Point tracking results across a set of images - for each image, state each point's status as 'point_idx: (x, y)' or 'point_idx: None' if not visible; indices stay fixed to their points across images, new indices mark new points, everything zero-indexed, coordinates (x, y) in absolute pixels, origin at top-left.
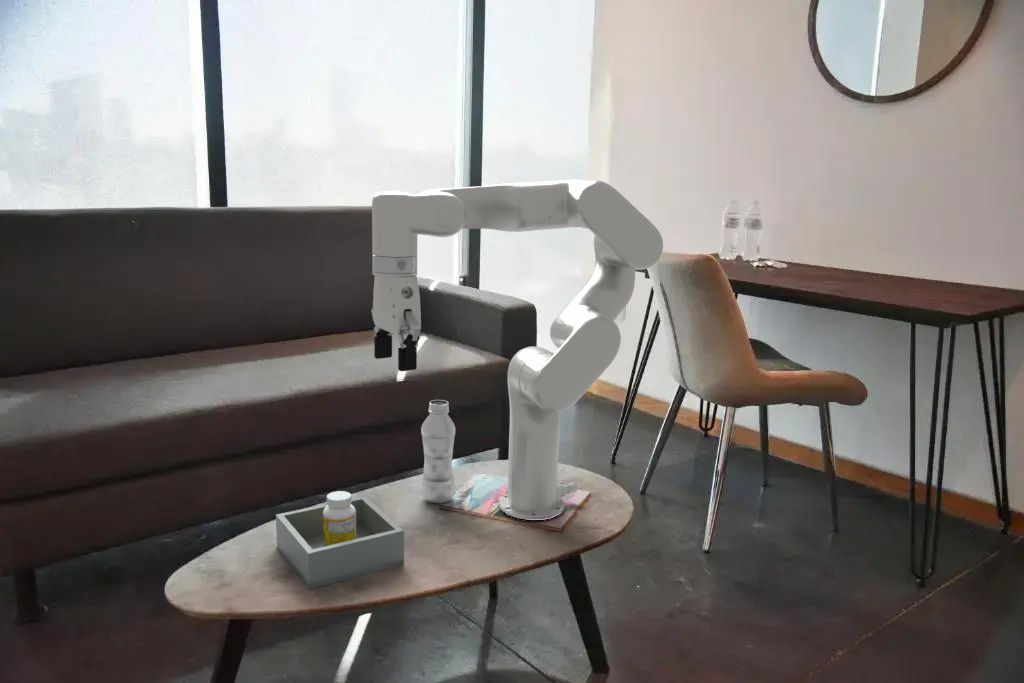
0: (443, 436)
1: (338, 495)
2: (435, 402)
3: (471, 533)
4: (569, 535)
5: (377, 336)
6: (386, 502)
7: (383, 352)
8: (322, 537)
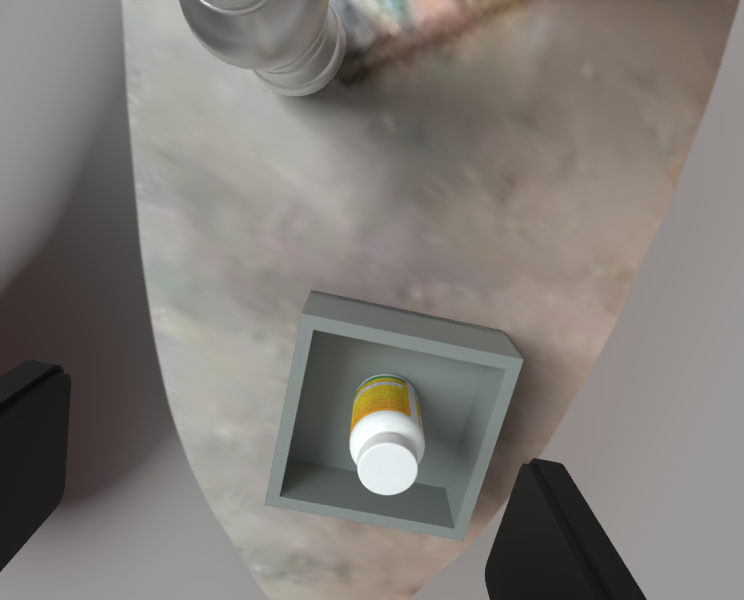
0: (323, 22)
1: (385, 469)
2: None
3: (505, 124)
4: None
5: None
6: (224, 167)
7: (35, 473)
8: (315, 397)
